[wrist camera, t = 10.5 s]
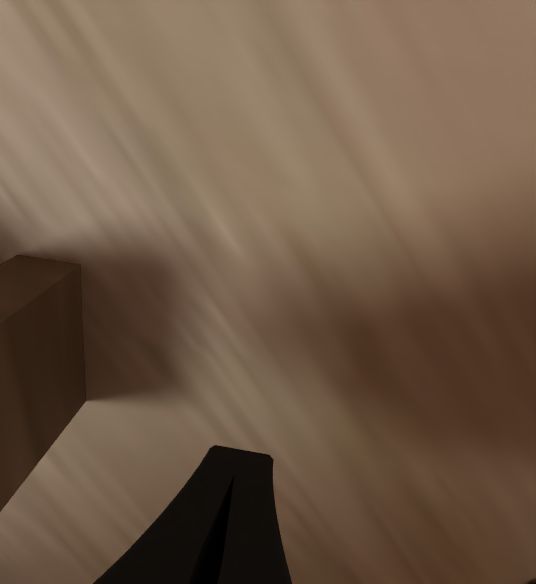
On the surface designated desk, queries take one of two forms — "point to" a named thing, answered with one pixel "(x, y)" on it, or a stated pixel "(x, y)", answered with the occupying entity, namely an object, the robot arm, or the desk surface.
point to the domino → (37, 362)
